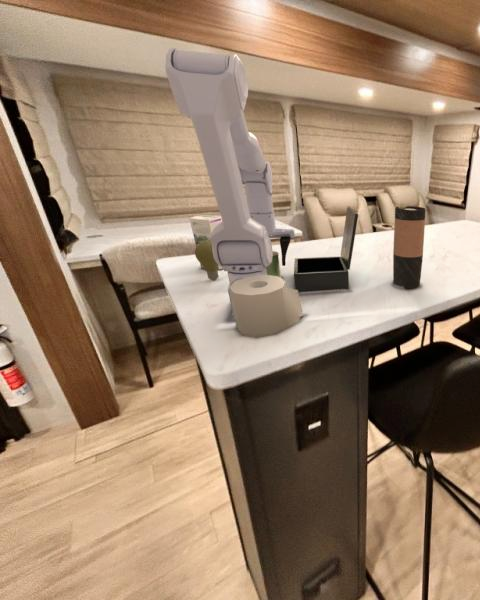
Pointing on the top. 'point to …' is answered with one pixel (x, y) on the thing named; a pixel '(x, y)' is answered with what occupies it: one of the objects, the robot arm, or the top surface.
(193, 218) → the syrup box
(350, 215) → the bin lid
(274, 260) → the green pot
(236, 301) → the toilet tissue
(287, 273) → the top surface
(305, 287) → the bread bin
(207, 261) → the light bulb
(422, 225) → the travel mug
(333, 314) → the top surface
